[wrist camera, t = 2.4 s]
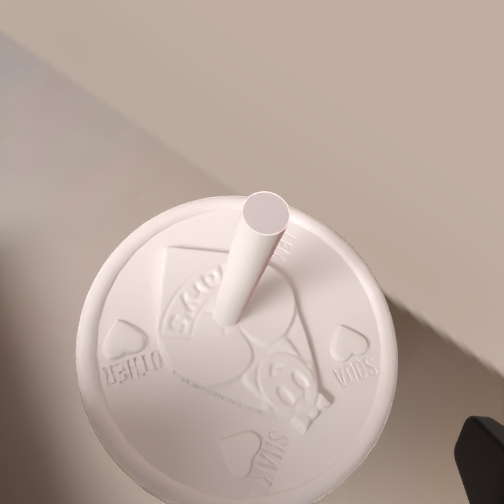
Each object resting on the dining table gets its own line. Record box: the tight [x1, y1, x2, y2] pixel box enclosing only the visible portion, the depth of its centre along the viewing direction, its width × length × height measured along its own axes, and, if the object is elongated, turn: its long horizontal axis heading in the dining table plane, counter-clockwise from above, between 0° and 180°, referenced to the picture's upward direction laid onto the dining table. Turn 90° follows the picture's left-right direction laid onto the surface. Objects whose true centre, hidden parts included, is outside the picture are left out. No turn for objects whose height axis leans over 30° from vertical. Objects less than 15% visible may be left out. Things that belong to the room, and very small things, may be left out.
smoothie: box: [76, 191, 398, 504], centre depth 11 cm, size 6×6×14 cm
